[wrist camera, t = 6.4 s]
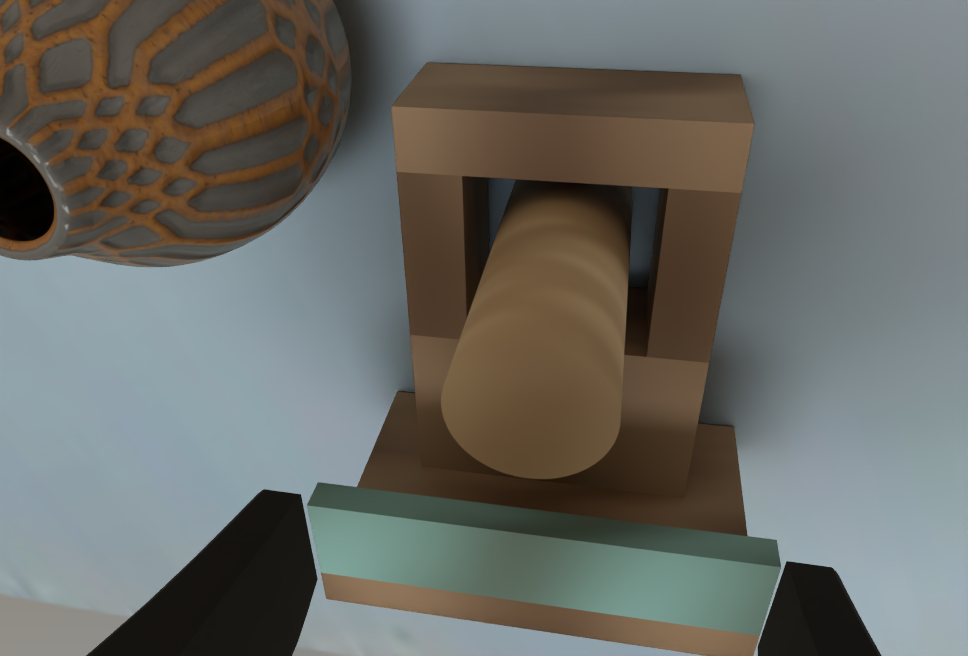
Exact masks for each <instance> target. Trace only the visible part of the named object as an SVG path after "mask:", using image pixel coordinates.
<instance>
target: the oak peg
mask: <svg viewBox="0 0 968 656" xmlns="http://www.w3.org/2000/svg"><path fill="white" fill-rule="evenodd" d="M632 205H633V200H632V192H631V188H630V186H620V185H603V184H587V183H571V182H554V181H538V180H521V179H516V181H515V183H514V186H513V189H512V192H511V194H510V197H509V200H508V203H507V206H506V209H505V212H504V214H503V217H502V220H501V223H500V226H499V229H498V231H497V234H496V237H495V240H494V243H493V246H492V249H491V251H490V254H489V257H488V260H487V263H486V266H485V268H484V271H483V274H482V277H481V280H480V283H479V286H478V288H477V291H476V294H475V297H474V300H473V303H472V306H471V308H470V311H469V314H468V317H467V320H466V323H465V325H464V328H463V331H462V334H461V337H460V340H459V343H458V345H457V348H456V351H455V354H454V357H453V360H452V363H451V365H450V368H449V371H448V374H447V377H446V380H445V382H444V385H443V390H442V394H441V408H442V414H443V418H444V421H445V423H446V425H447V428H448V430H449V431H450V433H451V435H452V436H453V438H454V439H455V440H456V441H457V443H458V444H459V445H460V446H461V447H462V448H463V449H464V450H465V451H466V452H467V453H469V454H470V455H471V456H472V457H474V458H475V459H476V460H478V461H480V462H481V463H483V464H485V465H487V466H489V467H491V468H493V469H495V470H497V471H500V472H503V473H506V474H509V475H513V476H517V477H523V478H531V479H552V478H560V477H565V476H569V475H572V474H576V473H579V472H581V471H583V470H585V469H587V468H589V467H591V466H592V465H594V464H596V463H597V462H598V461H599V460H601V459H602V458H603V457H604V456H605V455H606V454H607V453H608V451H609V450H610V449H611V447H612V446H613V444H614V443H615V440H616V438H617V436H618V433H619V429H620V421H621V403H622V385H623V367H624V349H625V331H626V313H627V295H628V277H629V259H630V241H631V223H632Z"/></svg>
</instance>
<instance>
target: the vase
mask: <svg viewBox="0 0 968 656" xmlns="http://www.w3.org/2000/svg"><path fill="white" fill-rule="evenodd" d="M350 95H351V61H350V53H349V47H348V42H347V37H346V34H345V30H344V27H343V24H342V20H341V18H340V15H339V12H338V10H337V7H336V5H335V3H334V1H333V0H0V255H1V256H4V257H8V258H12V259H18V260H41V259H48V258H54V257H59V256H66V255H73V256H77V257H81V258H86V259H91V260H96V261H102V262H107V263H113V264H119V265H126V266H136V267H170V266H178V265H184V264H190V263H195V262H199V261H203V260H206V259H210V258H213V257H216V256H219V255H222V254H224V253H227V252H229V251H232V250H234V249H236V248H239V247H241V246H243V245H245V244H247V243H249V242H251V241H253V240H255V239H256V238H258V237H260V236H262V235H264V234H265V233H266V232H268V231H269V230H271V229H272V228H274V227H275V226H276V225H278V224H279V223H281V222H282V221H283V220H284V219H285V218H287V217H288V216H289V215H290V214H291V213H292V212H293V211H294V210H295V209H296V208H297V207H298V206H299V205H300V204H301V203H302V202H303V201H304V200H305V198H306V197H307V196H308V195H309V193H310V192H311V191H312V189H313V188H314V187H315V185H316V184H317V183H318V181H319V180H320V178H321V177H322V175H323V174H324V172H325V171H326V169H327V167H328V165H329V164H330V162H331V160H332V158H333V156H334V155H335V153H336V150H337V148H338V146H339V143H340V141H341V137H342V134H343V131H344V127H345V124H346V120H347V115H348V111H349V104H350Z"/></svg>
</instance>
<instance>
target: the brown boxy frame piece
mask: <svg viewBox="0 0 968 656" xmlns="http://www.w3.org/2000/svg"><path fill="white" fill-rule="evenodd" d="M391 109H392V121H393V133H394V145H395V157H396V169H397V181H398V193H399V205H400V217H401V229H402V241H403V253H404V265H405V277H406V289H407V301H408V313H409V325H410V337H411V349H412V361H413V373H414V386H415V393H406V392H397V393H396V396H395V398H394V401H393V403H392V405H391V408H390V410H389V412H388V415H387V417H386V419H385V422H384V424H383V427H382V429H381V431H380V434H379V436H378V438H377V441H376V443H375V446H374V448H373V450H372V453H371V455H370V457H369V460H368V462H367V465H366V467H365V469H364V472H363V474H362V476H361V479H360V481H359V483H358V486H357V487H351V486H343V485H335V484H327V483H319V482H318V483H317V486H316V488H315V490H314V492H313V494H312V496H311V498H310V500H309V502H308V504H307V508H308V513H309V518H310V522H311V527H312V532H313V537H314V542H315V547H316V551H317V556H318V561H319V566H320V571H321V576H322V580H323V585H324V590H325V595H326V599H330V600H337V601H344V602H350V603H357V604H364V605H370V606H377V607H384V608H391V609H397V610H404V611H411V612H417V613H424V614H431V615H437V616H444V617H451V618H457V619H464V620H471V621H478V622H484V623H491V624H498V625H504V626H511V627H518V628H524V629H531V630H538V631H544V632H551V633H558V634H565V635H571V636H578V637H585V638H591V639H598V640H605V641H611V642H618V643H625V644H632V645H638V646H645V647H652V648H658V649H665V650H672V651H678V652H685V653H692V654H698V655H705V656H753V655H754V652H755V649H756V645H757V642H758V639H759V636H760V633H761V630H762V626H763V623H764V620H765V617H766V614H767V610H768V607H769V604H770V601H771V598H772V595H773V591H774V588H775V585H776V582H777V579H778V575H779V572H780V569H781V564H780V558H779V552H778V545H777V540H772V539H764V538H756V537H748V536H747V529H746V520H745V512H744V504H743V496H742V488H741V479H740V471H739V463H738V455H737V446H736V438H735V430H734V427H729V426H719V425H710V424H700V423H698V420H699V415H700V409H701V404H702V399H703V393H704V388H705V383H706V378H707V372H708V367H709V362H710V356H711V351H712V346H713V341H714V335H715V330H716V325H717V319H718V314H719V309H720V304H721V298H722V293H723V288H724V282H725V277H726V272H727V267H728V261H729V256H730V251H731V245H732V240H733V235H734V230H735V224H736V219H737V214H738V208H739V203H740V198H741V193H742V187H743V182H744V177H745V171H746V166H747V161H748V156H749V150H750V145H751V140H752V134H753V129H754V120H753V117H752V113H751V110H750V106H749V103H748V100H747V96H746V93H745V89H744V86H743V82H742V79H741V75H731V74H705V73H680V72H654V71H628V70H602V69H576V68H551V67H525V66H499V65H473V64H448V63H426V64H425V65H424V67H423V68H422V69H421V70H420V72H419V73H418V74H417V75H416V76H415V78H414V79H413V80H412V81H411V83H410V84H409V85H408V86H407V88H406V89H405V90H404V91H403V93H402V94H401V95H400V96H399V97H398V99H397V100H396V101H395V102H394V104H393V105H392V106H391ZM488 177H489V178H505V179H521V180H538V181H554V182H571V183H587V184H603V185H620V186H636V187H652V188H660V193H659V201H658V209H657V218H656V226H655V234H654V242H653V250H652V258H651V266H650V274H649V282H648V289H646V288H633V287H628V295H627V313H626V331H625V349H624V367H623V385H622V403H621V421H620V429H619V433H618V436H617V438H616V440H615V443H614V444H613V446H612V447H611V449H610V450H609V451H608V453H607V454H606V455H605V456H604V457H603V458H602V459H601V460H599V461H598V462H597V463H596V464H594V465H592V466H591V467H589V468H587V469H585V470H583V471H581V472H579V473H576V474H572V475H569V476H565V477H560V478H552V479H531V478H523V477H517V476H513V475H509V474H506V473H503V472H500V471H497V470H495V469H493V468H491V467H489V466H487V465H485V464H483V463H481V462H480V461H478V460H476V459H475V458H474V457H472V456H471V455H470V454H469V453H467V452H466V451H465V450H464V449H463V448H462V447H461V446H460V445H459V444H458V443H457V441H456V440H455V439H454V438H453V436H452V435H451V433H450V431H449V430H448V428H447V425H446V423H445V421H444V418H443V414H442V408H441V394H442V390H443V385H444V382H445V380H446V377H447V374H448V371H449V368H450V365H451V363H452V360H453V357H454V354H455V351H456V348H457V345H458V343H459V340H460V337H461V334H462V331H463V328H464V325H465V323H466V320H467V317H468V314H469V311H470V308H471V306H472V303H473V300H474V297H475V294H476V291H477V288H478V286H479V283H480V280H481V277H482V274H483V271H484V268H485V266H486V263H487V260H488V257H489V239H488Z"/></svg>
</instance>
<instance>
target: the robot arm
mask: <svg viewBox="0 0 968 656" xmlns="http://www.w3.org/2000/svg"><path fill="white" fill-rule="evenodd" d="M316 582H317V574H316V569H315V564H314V559H313V554H312V549H311V544H310V539H309V534H308V528H307V523H306V518H305V513H304V508H303V503H302V498H301V494H293V493H286V492H279V491H272V490H262V491H261V492H260V493H258V494H257V495H256V496H255V497H254V498H253V499H252V500H251V501H250V502H249V503H248V504H247V505H246V506H245V507H244V508H243V509H242V510H241V512H240V513H239V514H238V515H237V516H236V517H235V518H234V519H233V520H232V521H231V522H230V523H229V524H228V525H227V526H226V527H225V528H224V529H223V530H222V531H221V532H220V533H219V534H218V535H217V536H216V537H215V538H214V539H213V540H212V541H211V542H210V543H209V544H208V545H207V546H206V547H205V548H204V549H203V550H202V551H201V552H200V553H199V554H198V555H197V556H196V557H195V558H194V559H193V560H192V561H190V562H189V563H188V564H187V565H186V566H185V567H184V568H183V569H182V570H181V571H180V572H179V573H178V574H177V575H176V576H175V577H174V578H173V579H172V580H170V581H169V582H168V583H167V584H166V585H165V586H164V587H163V588H162V589H161V590H160V591H159V592H158V593H157V594H156V595H155V596H154V597H153V598H151V599H150V600H149V601H148V602H147V603H146V604H145V605H144V606H143V607H142V608H141V609H139V610H138V611H137V612H136V613H135V614H134V615H133V616H131V617H130V618H129V619H128V620H127V621H126V622H125V623H123V624H122V625H121V626H120V627H119V628H118V629H117V630H115V631H114V632H113V633H112V634H111V635H110V636H108V637H107V638H106V639H105V640H104V641H103V642H102V643H100V644H99V645H98V646H97V647H96V648H95V649H94V650H93V651H91V652H90V653H89V654H88V655H86V656H292V654H293V652H294V650H295V647H296V645H297V642H298V639H299V636H300V633H301V630H302V627H303V624H304V621H305V618H306V615H307V612H308V609H309V605H310V602H311V599H312V596H313V592H314V589H315V586H316ZM758 656H881V654H880V652H879V651H878V649H877V647H876V645H875V643H874V642H873V640H872V638H871V636H870V634H869V633H868V631H867V629H866V627H865V625H864V623H863V621H862V620H861V618H860V616H859V614H858V612H857V610H856V608H855V606H854V604H853V602H852V601H851V599H850V597H849V595H848V593H847V591H846V589H845V587H844V585H843V583H842V581H841V579H840V577H839V575H838V574H837V572H836V571H835V570H834V569H833V568H832V567H825V566H817V565H810V564H803V563H796V562H788V561H787V562H786V565H785V568H784V571H783V574H782V577H781V580H780V582H779V585H778V588H777V591H776V594H775V597H774V600H773V603H772V606H771V609H770V612H769V615H768V618H767V621H766V624H765V627H764V630H763V633H762V636H761V639H760V642H759V645H758Z"/></svg>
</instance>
